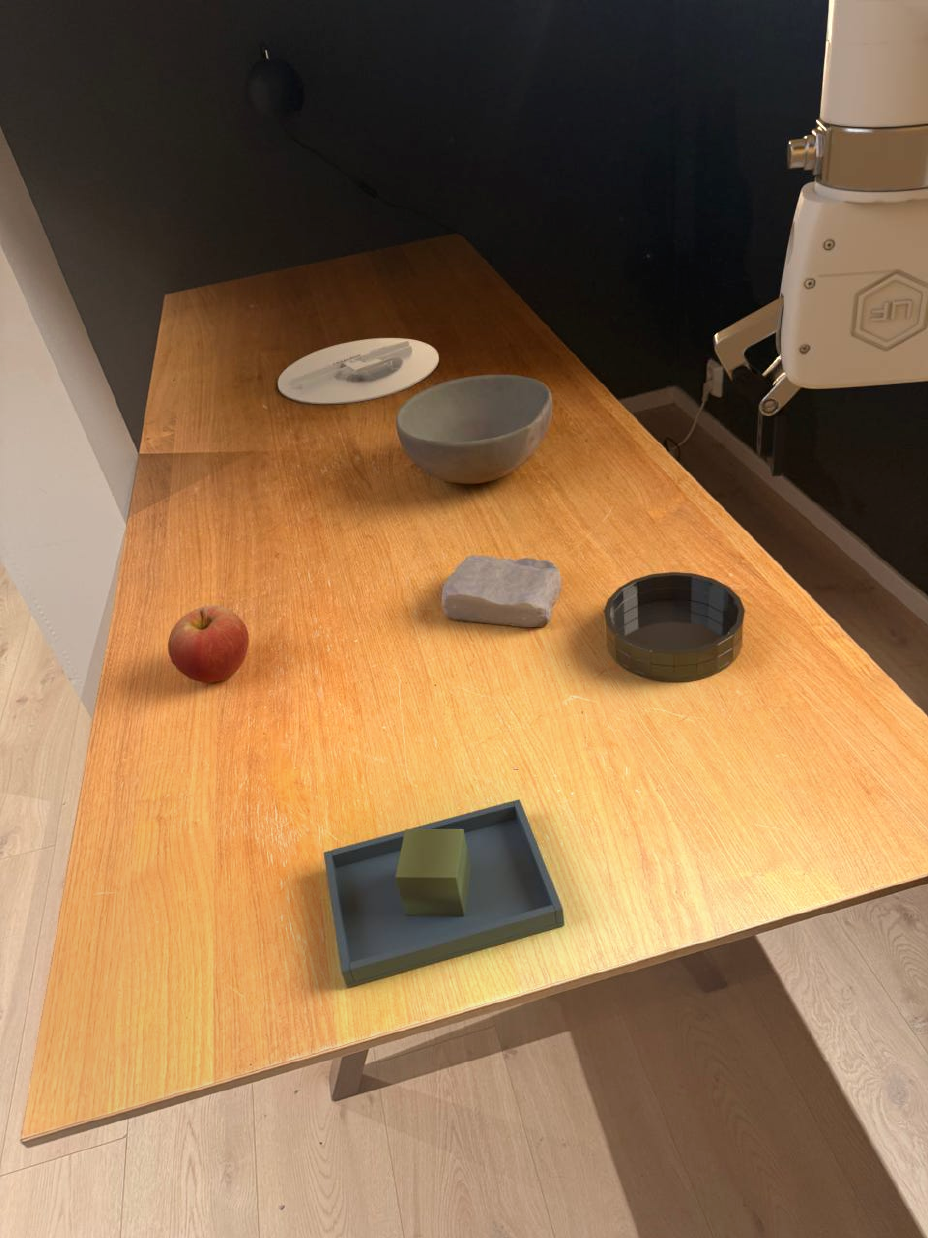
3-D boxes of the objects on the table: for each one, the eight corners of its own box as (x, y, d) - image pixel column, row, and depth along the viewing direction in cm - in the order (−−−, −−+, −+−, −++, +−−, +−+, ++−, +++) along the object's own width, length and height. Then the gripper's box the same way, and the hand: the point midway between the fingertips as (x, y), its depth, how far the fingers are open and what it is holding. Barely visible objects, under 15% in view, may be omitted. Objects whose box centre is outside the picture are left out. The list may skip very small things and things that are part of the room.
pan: (764, 621, 94) (766, 592, 92) (706, 699, 86) (707, 669, 84) (645, 587, 102) (644, 560, 100) (581, 656, 94) (579, 628, 92)
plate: (394, 327, 179) (393, 321, 178) (468, 367, 158) (467, 360, 157) (255, 372, 169) (253, 365, 169) (315, 420, 149) (313, 412, 148)
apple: (273, 655, 100) (253, 593, 96) (227, 703, 95) (203, 640, 90) (214, 641, 104) (192, 581, 99) (166, 687, 98) (141, 625, 94)
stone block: (468, 585, 109) (437, 622, 101) (467, 546, 107) (435, 581, 99) (569, 598, 105) (545, 637, 97) (570, 557, 103) (546, 594, 95)
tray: (521, 815, 78) (519, 798, 77) (564, 926, 69) (563, 908, 68) (328, 868, 76) (323, 852, 75) (347, 988, 67) (341, 972, 66)
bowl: (438, 435, 139) (428, 369, 133) (574, 441, 131) (569, 372, 126) (382, 504, 124) (367, 434, 118) (531, 515, 117) (523, 441, 111)
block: (471, 867, 74) (463, 828, 71) (464, 916, 70) (456, 877, 68) (414, 867, 75) (405, 828, 72) (405, 915, 71) (395, 877, 68)
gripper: (725, 190, 46) (716, 500, 56) (1119, 147, 43) (1035, 482, 53) (711, 157, 52) (705, 442, 62) (1056, 117, 49) (991, 423, 59)
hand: (857, 460), depth 57 cm, fingers open, 9 cm apart
